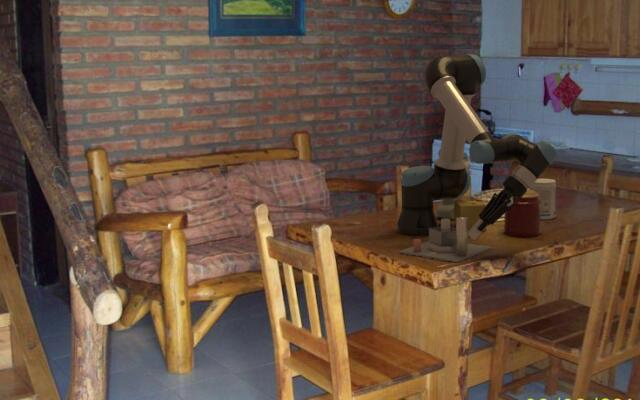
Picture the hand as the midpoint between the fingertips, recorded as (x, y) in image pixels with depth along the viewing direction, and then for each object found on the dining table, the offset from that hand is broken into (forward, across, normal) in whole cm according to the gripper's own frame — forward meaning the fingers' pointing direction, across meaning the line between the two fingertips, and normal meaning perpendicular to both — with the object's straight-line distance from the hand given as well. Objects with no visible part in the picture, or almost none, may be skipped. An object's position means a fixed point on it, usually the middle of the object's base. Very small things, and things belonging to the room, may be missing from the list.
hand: (470, 236), depth 284 cm
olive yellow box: (-6, +40, -15) cm, 43 cm away
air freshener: (-5, +60, -14) cm, 62 cm away
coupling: (+7, +6, -1) cm, 9 cm away
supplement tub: (-29, +51, -39) cm, 71 cm away
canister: (-16, +28, -26) cm, 42 cm away
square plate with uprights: (+8, +10, -1) cm, 13 cm away
